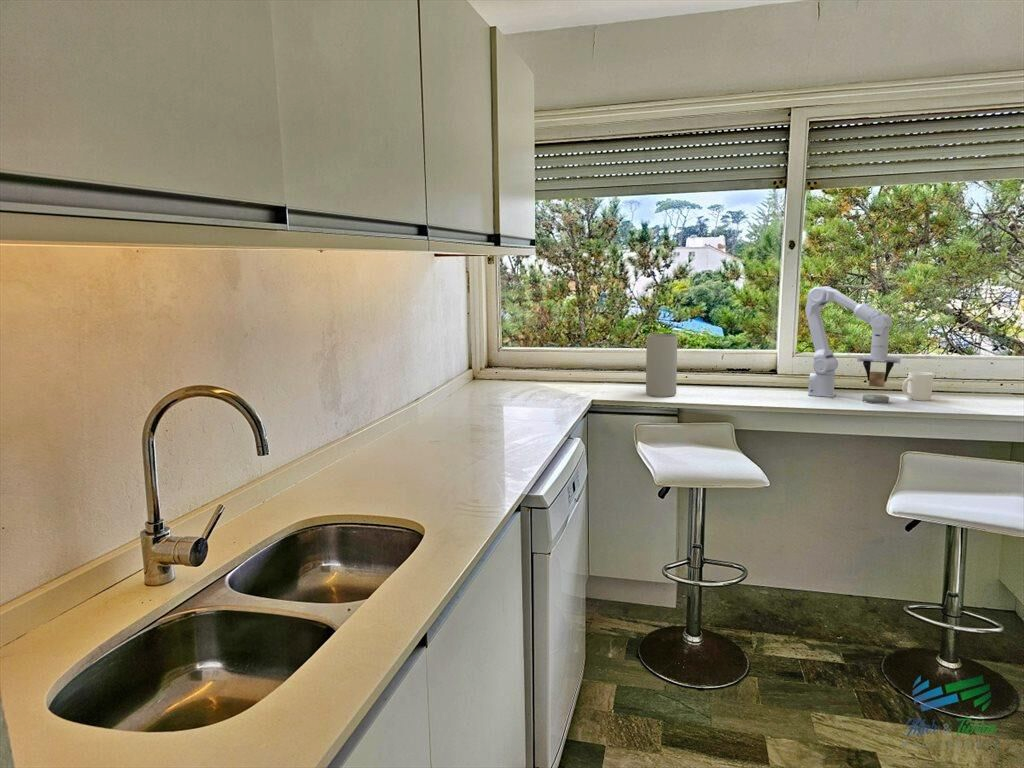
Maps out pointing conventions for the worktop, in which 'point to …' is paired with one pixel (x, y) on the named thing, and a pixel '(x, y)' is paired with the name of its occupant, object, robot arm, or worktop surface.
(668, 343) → the cylinder vase
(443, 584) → the worktop surface
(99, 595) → the worktop surface
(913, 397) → the mug
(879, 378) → the walnut cube
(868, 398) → the slate pedestal
